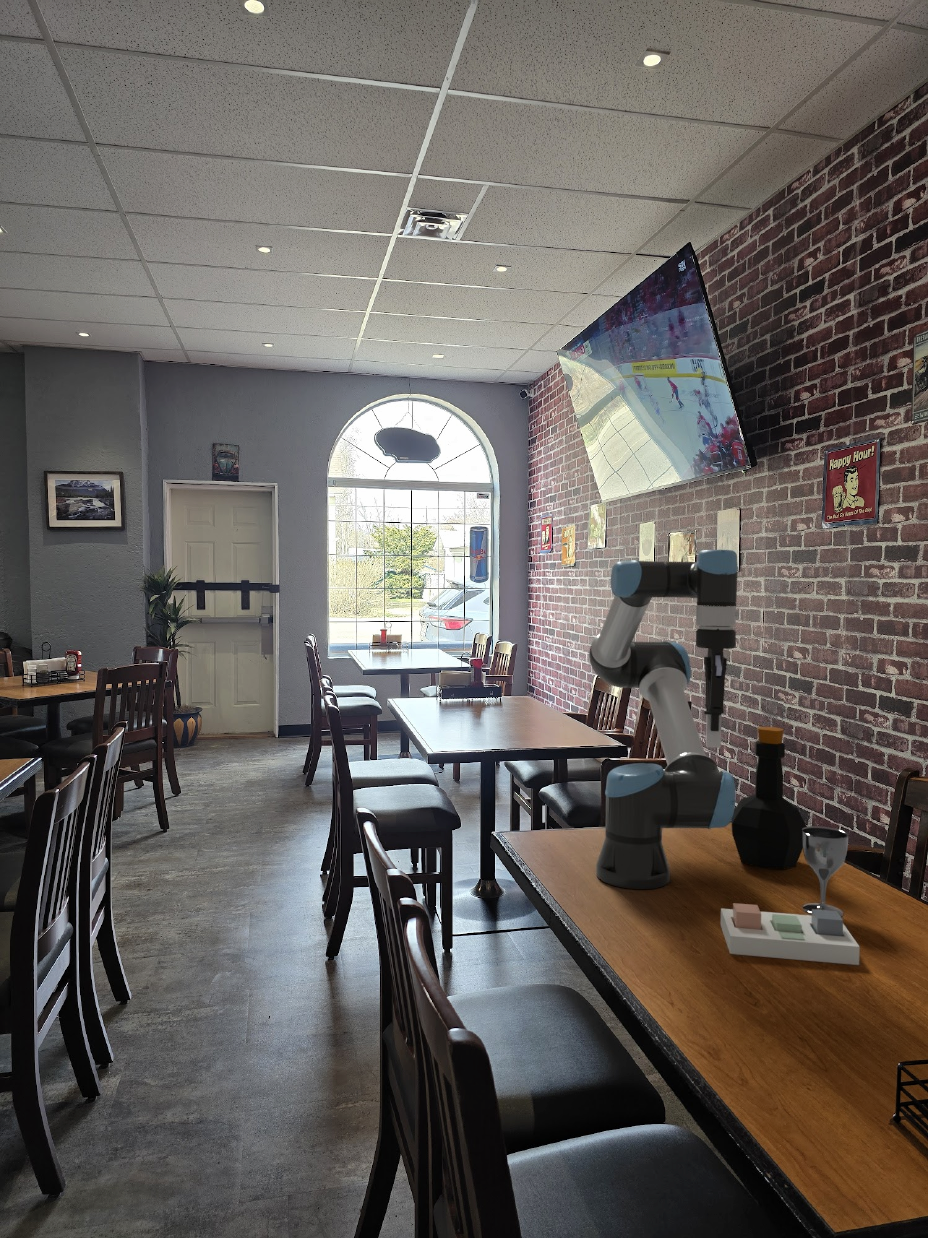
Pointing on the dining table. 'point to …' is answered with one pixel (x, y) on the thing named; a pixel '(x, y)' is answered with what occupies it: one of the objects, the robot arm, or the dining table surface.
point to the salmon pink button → (746, 916)
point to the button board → (789, 941)
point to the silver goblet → (824, 858)
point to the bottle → (768, 811)
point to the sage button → (786, 923)
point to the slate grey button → (827, 922)
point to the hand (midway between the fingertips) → (713, 746)
